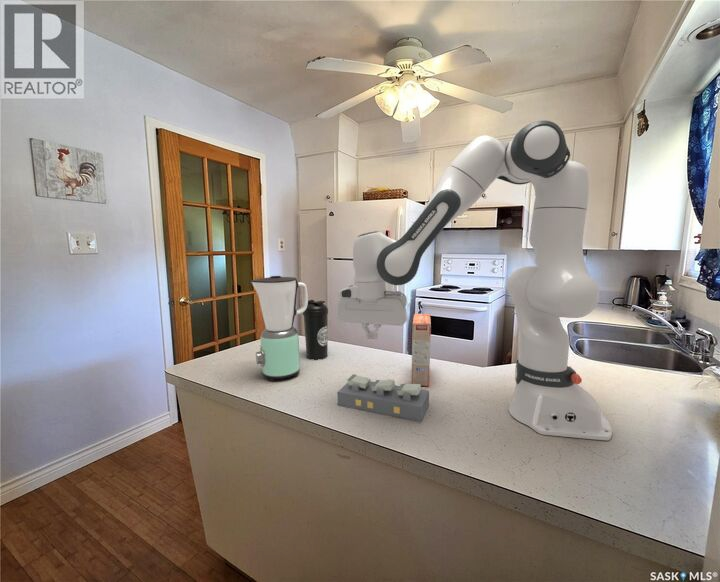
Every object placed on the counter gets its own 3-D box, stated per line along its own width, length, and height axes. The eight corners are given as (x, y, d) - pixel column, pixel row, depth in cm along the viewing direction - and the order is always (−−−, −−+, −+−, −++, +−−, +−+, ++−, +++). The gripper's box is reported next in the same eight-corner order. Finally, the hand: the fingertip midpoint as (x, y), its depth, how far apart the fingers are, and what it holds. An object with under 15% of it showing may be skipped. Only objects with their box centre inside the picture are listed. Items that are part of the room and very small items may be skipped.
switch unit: (428, 403, 93) (429, 384, 92) (421, 422, 84) (421, 401, 83) (352, 390, 103) (351, 372, 102) (337, 405, 93) (336, 386, 92)
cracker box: (430, 387, 104) (431, 323, 101) (410, 386, 105) (411, 322, 102) (429, 370, 117) (430, 313, 114) (412, 369, 118) (413, 312, 115)
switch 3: (421, 388, 90) (420, 383, 90) (417, 395, 87) (416, 389, 87) (401, 389, 93) (400, 383, 93) (397, 395, 89) (396, 389, 89)
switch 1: (370, 382, 96) (370, 378, 96) (365, 388, 93) (365, 383, 92) (352, 378, 98) (353, 374, 98) (347, 384, 95) (347, 379, 94)
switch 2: (395, 384, 93) (394, 379, 93) (390, 390, 90) (389, 384, 89) (377, 385, 96) (375, 380, 95) (372, 391, 92) (371, 385, 92)
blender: (260, 386, 106) (253, 279, 101) (254, 372, 118) (247, 276, 113) (316, 375, 115) (312, 276, 109) (304, 362, 126) (300, 272, 121)
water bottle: (318, 362, 127) (316, 304, 123) (299, 357, 132) (296, 301, 129) (334, 354, 135) (333, 299, 131) (315, 350, 140) (313, 297, 137)
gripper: (409, 289, 91) (410, 337, 93) (342, 288, 98) (344, 332, 100) (403, 293, 85) (404, 344, 87) (333, 291, 93) (335, 338, 95)
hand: (371, 338), depth 94 cm, fingers closed
